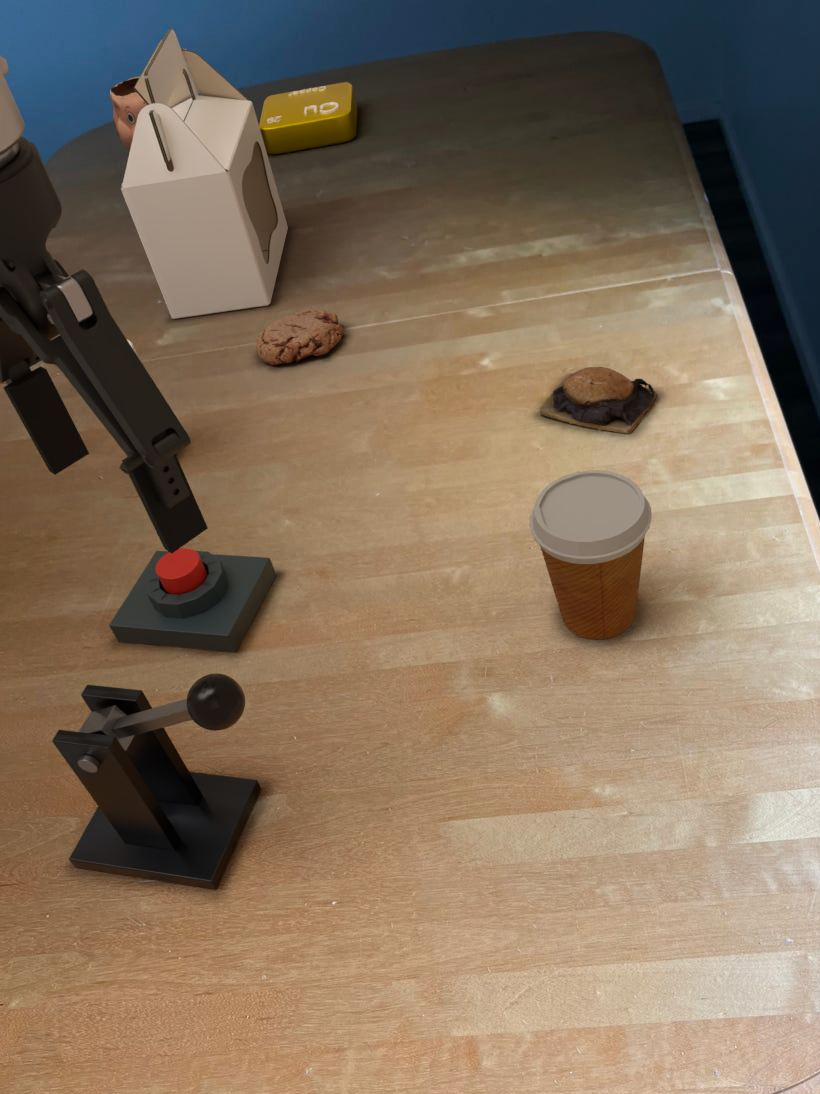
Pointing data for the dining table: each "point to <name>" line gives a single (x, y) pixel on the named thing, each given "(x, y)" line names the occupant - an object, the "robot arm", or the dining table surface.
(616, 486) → the disposable coffee cup
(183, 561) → the button
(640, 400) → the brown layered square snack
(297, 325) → the cookie
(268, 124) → the element tile
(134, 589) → the control block
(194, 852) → the lever stand
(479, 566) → the dining table surface
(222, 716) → the lever handle
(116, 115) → the decorative planter
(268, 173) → the gable box
